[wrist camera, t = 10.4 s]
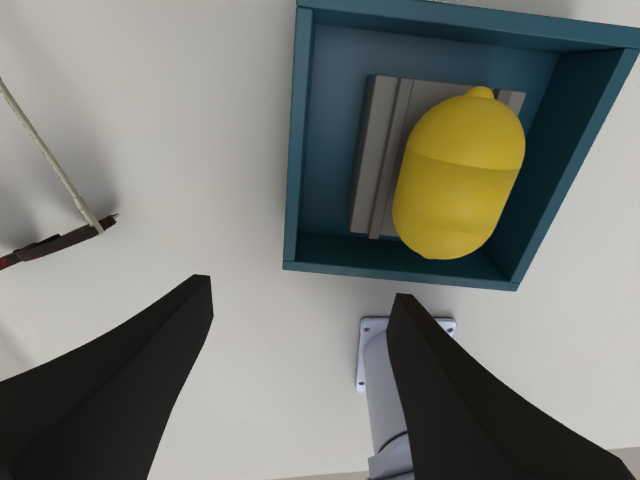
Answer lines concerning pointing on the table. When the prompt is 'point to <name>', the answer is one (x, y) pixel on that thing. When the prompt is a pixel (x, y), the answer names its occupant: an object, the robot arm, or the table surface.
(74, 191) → the sunglasses
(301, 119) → the crate
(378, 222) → the grey block
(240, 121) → the table surface
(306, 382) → the table surface
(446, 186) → the lemon
